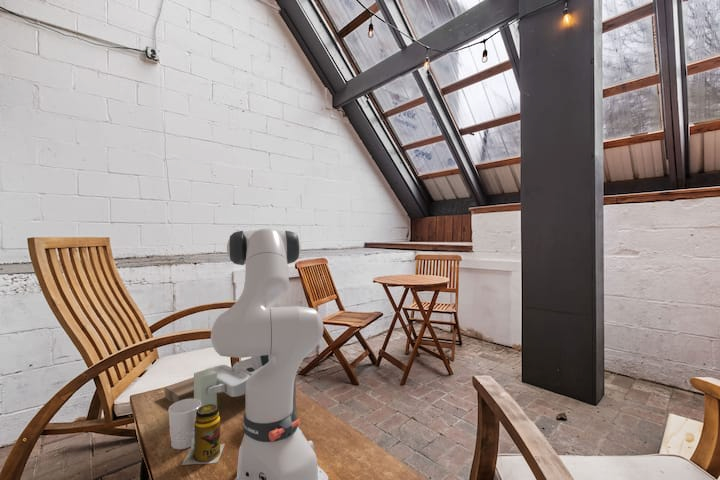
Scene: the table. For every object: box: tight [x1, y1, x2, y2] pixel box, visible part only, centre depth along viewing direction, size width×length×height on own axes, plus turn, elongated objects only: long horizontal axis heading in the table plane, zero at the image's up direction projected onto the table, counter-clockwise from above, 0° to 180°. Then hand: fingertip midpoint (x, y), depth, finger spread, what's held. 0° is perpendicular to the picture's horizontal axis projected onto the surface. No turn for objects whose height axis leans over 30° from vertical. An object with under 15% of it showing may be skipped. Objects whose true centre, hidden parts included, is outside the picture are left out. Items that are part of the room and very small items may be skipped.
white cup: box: [168, 399, 201, 451], centre depth 92 cm, size 8×8×10 cm
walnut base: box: [164, 376, 194, 404], centre depth 118 cm, size 10×10×4 cm
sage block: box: [193, 368, 218, 407], centre depth 108 cm, size 5×5×12 cm
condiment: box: [181, 404, 226, 466], centre depth 87 cm, size 7×8×12 cm
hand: (202, 387), depth 108 cm, fingers closed on sage block, 5 cm apart
